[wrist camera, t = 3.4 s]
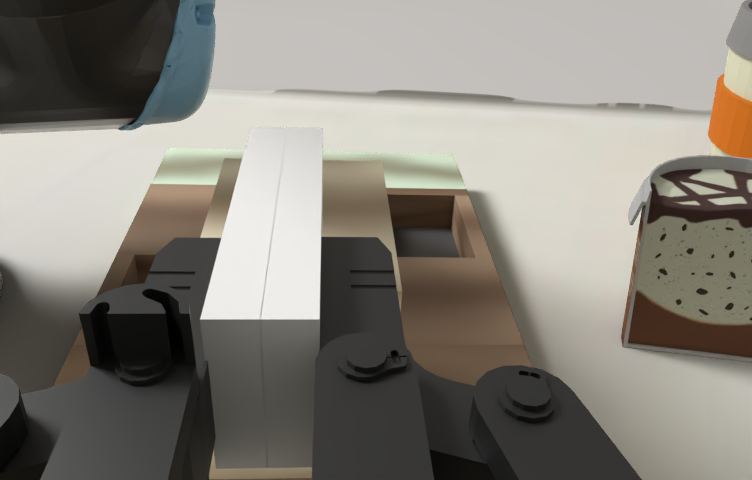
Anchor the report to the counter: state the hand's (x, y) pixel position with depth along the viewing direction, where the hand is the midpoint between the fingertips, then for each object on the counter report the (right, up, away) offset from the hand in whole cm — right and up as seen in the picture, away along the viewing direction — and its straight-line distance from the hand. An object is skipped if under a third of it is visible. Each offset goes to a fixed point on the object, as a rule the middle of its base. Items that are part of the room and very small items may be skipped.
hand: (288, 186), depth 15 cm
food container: (+21, -6, +27) cm, 35 cm away
